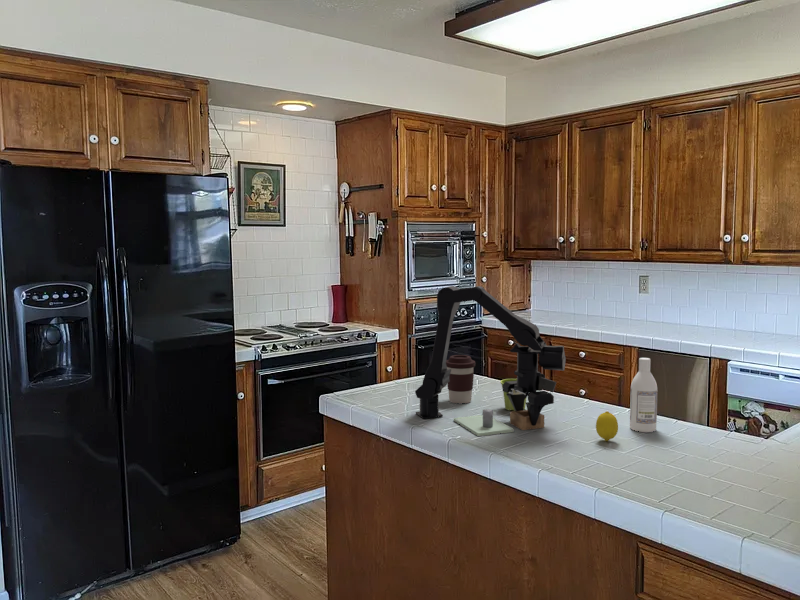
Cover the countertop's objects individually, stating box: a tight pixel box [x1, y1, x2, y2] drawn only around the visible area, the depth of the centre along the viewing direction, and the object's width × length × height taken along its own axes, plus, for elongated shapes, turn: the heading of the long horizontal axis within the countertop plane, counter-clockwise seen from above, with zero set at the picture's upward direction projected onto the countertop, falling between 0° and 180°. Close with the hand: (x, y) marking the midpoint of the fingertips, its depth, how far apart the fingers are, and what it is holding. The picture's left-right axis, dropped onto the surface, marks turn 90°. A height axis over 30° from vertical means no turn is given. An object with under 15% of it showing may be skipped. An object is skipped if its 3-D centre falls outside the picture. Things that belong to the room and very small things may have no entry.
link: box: [509, 409, 545, 431], centre depth 182 cm, size 7×7×4 cm
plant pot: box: [500, 378, 528, 411], centre depth 200 cm, size 9×9×9 cm
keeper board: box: [453, 408, 515, 437], centre depth 181 cm, size 16×11×5 cm
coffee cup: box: [446, 354, 476, 405], centre depth 209 cm, size 10×10×15 cm
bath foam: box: [629, 357, 659, 433], centre depth 176 cm, size 7×7×20 cm
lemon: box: [595, 410, 619, 442], centre depth 167 cm, size 6×6×8 cm
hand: (526, 421), depth 182 cm, fingers closed on link, 7 cm apart
